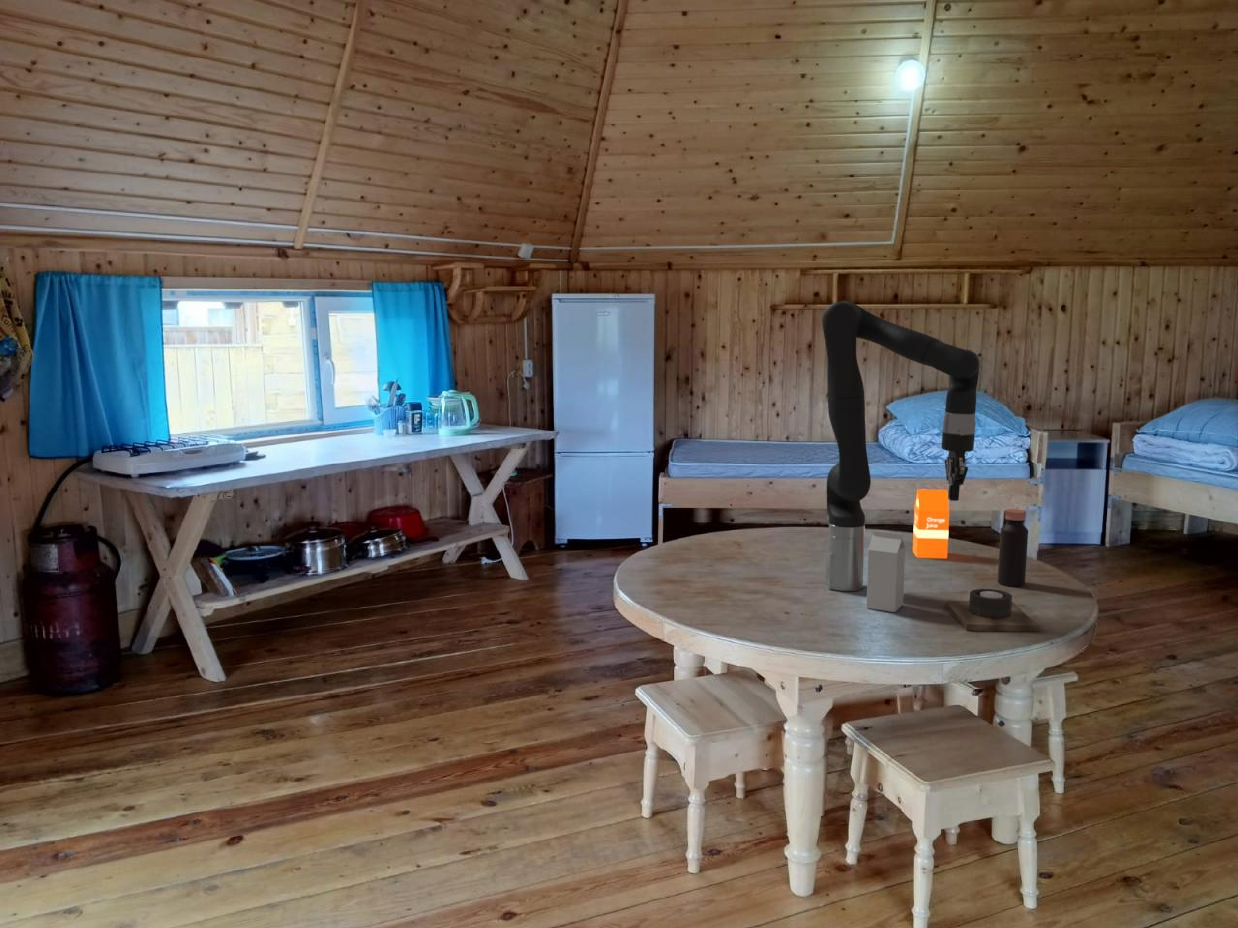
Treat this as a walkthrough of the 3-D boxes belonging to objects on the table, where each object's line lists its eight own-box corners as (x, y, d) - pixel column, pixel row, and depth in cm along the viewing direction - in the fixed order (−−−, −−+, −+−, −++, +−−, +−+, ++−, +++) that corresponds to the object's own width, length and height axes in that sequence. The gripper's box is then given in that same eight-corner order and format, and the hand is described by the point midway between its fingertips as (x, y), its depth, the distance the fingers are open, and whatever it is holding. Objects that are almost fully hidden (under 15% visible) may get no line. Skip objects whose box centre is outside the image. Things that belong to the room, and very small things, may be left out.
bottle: (993, 580, 257) (998, 508, 254) (1019, 580, 257) (1023, 508, 254) (1003, 587, 250) (1007, 513, 247) (1029, 587, 250) (1033, 513, 247)
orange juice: (912, 551, 288) (915, 487, 285) (942, 551, 287) (945, 487, 284) (916, 557, 281) (919, 491, 278) (947, 558, 280) (950, 492, 276)
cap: (982, 615, 222) (984, 597, 222) (976, 608, 227) (977, 590, 227) (1004, 615, 222) (1005, 597, 221) (997, 609, 227) (998, 591, 226)
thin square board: (966, 630, 217) (967, 605, 216) (945, 606, 234) (946, 583, 233) (1037, 631, 216) (1039, 606, 215) (1011, 607, 233) (1012, 583, 232)
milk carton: (894, 612, 230) (898, 537, 227) (866, 608, 233) (868, 533, 230) (903, 605, 236) (906, 531, 233) (874, 600, 239) (877, 527, 236)
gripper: (936, 427, 239) (931, 494, 242) (949, 433, 226) (944, 504, 229) (966, 428, 238) (961, 495, 241) (982, 434, 225) (976, 505, 228)
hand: (953, 500), depth 235 cm, fingers closed
